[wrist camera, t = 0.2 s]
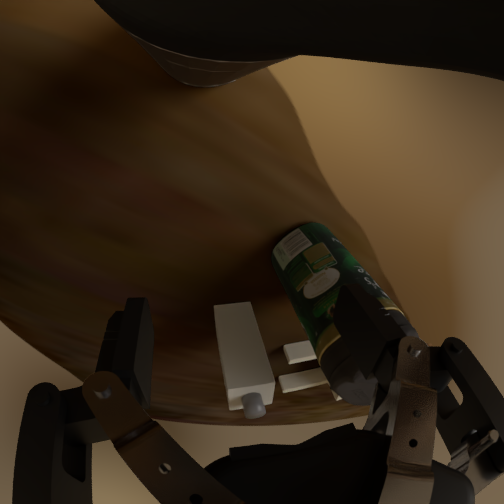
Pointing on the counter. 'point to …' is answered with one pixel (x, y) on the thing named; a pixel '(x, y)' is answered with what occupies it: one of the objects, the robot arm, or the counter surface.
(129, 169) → the counter surface
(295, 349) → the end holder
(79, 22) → the counter surface
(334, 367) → the coffee jar
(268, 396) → the white square bottle
